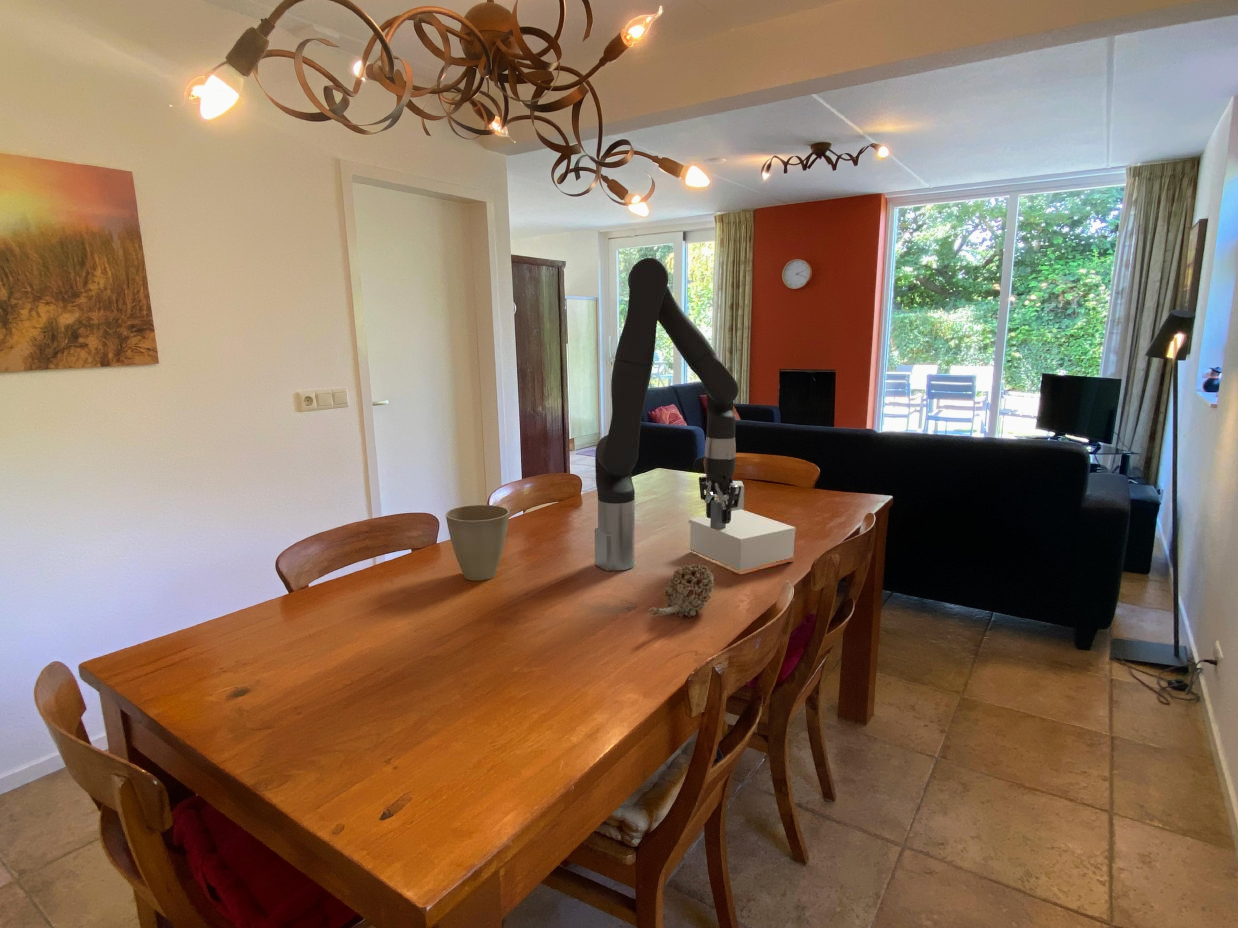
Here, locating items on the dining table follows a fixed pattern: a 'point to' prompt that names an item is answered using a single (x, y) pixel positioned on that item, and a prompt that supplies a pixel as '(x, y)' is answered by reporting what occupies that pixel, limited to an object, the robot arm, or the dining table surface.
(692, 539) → the mailer box
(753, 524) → the mailer lid
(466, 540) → the plant pot
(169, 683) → the dining table surface
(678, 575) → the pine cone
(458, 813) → the dining table surface
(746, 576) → the dining table surface
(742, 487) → the supplement box
